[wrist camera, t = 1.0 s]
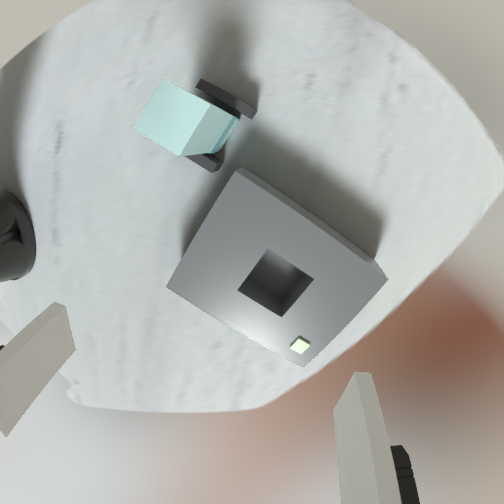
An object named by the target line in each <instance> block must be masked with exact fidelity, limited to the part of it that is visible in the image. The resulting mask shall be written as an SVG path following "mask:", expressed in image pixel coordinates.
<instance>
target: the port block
mask: <svg viewBox="0 0 504 504" xmlns="http://www.w3.org/2000/svg"><path fill="white" fill-rule="evenodd" d="M387 280H388V278H387V277H386V275H385V274H384V272H383V271H382V270H381V268H380V267H379V265H378V264H377V262H376V261H375V260H374V259H373V258H371V257H370V256H369V255H368V254H366V253H365V252H364V251H362V250H361V249H360V248H358V247H357V246H356V245H354V244H353V243H352V242H351V241H349V240H348V239H347V238H345V237H344V236H342V235H341V234H340V233H338V232H337V231H336V230H334V229H333V228H332V227H330V226H329V225H328V224H326V223H325V222H323V221H322V220H321V219H319V218H318V217H316V216H315V215H314V214H312V213H311V212H309V211H308V210H307V209H305V208H304V207H302V206H301V205H299V204H298V203H297V202H295V201H294V200H292V199H291V198H289V197H288V196H286V195H285V194H283V193H282V192H281V191H279V190H278V189H276V188H275V187H273V186H272V185H270V184H269V183H267V182H266V181H264V180H263V179H261V178H260V177H258V176H256V175H255V174H253V173H252V172H250V171H249V170H247V169H246V168H244V167H242V168H240V169H238V170H236V171H235V172H234V173H233V175H232V176H231V178H230V180H229V181H228V183H227V184H226V186H225V187H224V189H223V191H222V192H221V194H220V195H219V197H218V199H217V200H216V202H215V203H214V205H213V207H212V208H211V210H210V212H209V213H208V215H207V217H206V218H205V220H204V222H203V223H202V225H201V226H200V228H199V230H198V232H197V233H196V235H195V237H194V238H193V240H192V242H191V243H190V245H189V247H188V249H187V250H186V252H185V254H184V255H183V257H182V259H181V261H180V262H179V264H178V266H177V268H176V269H175V271H174V273H173V275H172V277H171V278H170V280H169V282H168V284H167V286H166V287H167V288H168V289H170V290H171V291H173V292H175V293H176V294H178V295H179V296H181V297H182V298H184V299H185V300H187V301H189V302H190V303H192V304H193V305H195V306H196V307H198V308H200V309H201V310H203V311H204V312H206V313H208V314H209V315H211V316H213V317H214V318H216V319H218V320H219V321H221V322H223V323H224V324H226V325H228V326H229V327H231V328H233V329H234V330H236V331H238V332H239V333H241V334H243V335H245V336H246V337H248V338H250V339H252V340H253V341H255V342H257V343H259V344H260V345H262V346H264V347H266V348H268V349H269V350H271V351H273V352H275V353H277V354H279V355H280V356H282V357H284V358H286V359H288V360H290V361H292V362H294V363H296V364H297V365H299V366H301V367H305V366H306V365H307V364H308V363H309V362H310V361H311V360H312V359H313V358H314V357H315V356H316V355H317V354H318V353H319V352H321V351H322V350H323V349H324V348H325V347H326V346H327V345H328V344H329V343H330V342H331V341H332V340H333V339H334V338H335V337H336V336H337V335H338V334H339V333H340V332H341V331H342V330H343V329H344V328H345V327H346V326H347V325H348V324H349V322H350V321H351V320H352V319H353V318H354V317H355V316H356V315H357V314H358V313H359V312H360V311H361V310H362V309H363V308H364V306H365V305H366V304H367V303H368V302H369V301H370V300H371V299H372V298H373V296H374V295H375V294H376V293H377V292H378V291H379V290H380V289H381V287H382V286H383V285H384V284H385V283H386V282H387Z"/></svg>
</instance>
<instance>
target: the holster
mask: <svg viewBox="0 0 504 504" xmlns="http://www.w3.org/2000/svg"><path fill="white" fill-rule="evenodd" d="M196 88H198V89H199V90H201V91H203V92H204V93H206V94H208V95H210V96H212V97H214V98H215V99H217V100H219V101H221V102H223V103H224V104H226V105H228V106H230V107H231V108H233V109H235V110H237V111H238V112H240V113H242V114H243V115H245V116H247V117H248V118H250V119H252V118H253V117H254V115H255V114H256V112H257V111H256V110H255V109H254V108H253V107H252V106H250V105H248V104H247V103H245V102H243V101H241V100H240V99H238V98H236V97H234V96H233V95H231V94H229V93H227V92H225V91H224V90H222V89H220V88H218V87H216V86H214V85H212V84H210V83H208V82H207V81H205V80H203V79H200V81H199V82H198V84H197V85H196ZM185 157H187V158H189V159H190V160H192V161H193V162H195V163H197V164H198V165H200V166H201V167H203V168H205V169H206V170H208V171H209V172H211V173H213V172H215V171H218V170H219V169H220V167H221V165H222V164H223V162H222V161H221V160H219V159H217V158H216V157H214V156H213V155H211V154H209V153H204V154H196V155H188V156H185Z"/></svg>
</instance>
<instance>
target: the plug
mask: <svg viewBox="0 0 504 504" xmlns="http://www.w3.org/2000/svg"><path fill="white" fill-rule="evenodd" d="M238 122H239V119H237V118H236V117H235V116H233V115H231V114H230V113H228V112H226V111H224V110H223V109H221V108H219V107H217V106H216V105H214V104H212V103H210V102H208V101H206V100H205V99H203V98H201V97H199V96H196V95H194V94H192V93H190V92H188V91H186V90H184V89H182V88H180V87H178V86H176V85H174V84H172V83H170V82H168V81H166V80H164V79H162V81H161V82H160V84H159V86H158V87H157V89H156V91H155V92H154V94H153V96H152V97H151V99H150V101H149V103H148V104H147V106H146V108H145V110H144V111H143V113H142V115H141V117H140V119H139V121H138V123H137V124H136V126H135V128H134V130H135V131H137V132H139V133H140V134H142V135H144V136H146V137H147V138H149V139H151V140H152V141H154V142H156V143H157V144H159V145H161V146H162V147H164V148H166V149H167V150H169V151H171V152H172V153H174V154H176V155H177V156H179V157H181V156H188V155H196V154H204V153H215V152H219V151H220V150H221V148H222V146H223V145H224V143H225V142H226V140H227V139H228V137H229V136H230V134H231V132H232V131H233V129H234V128H235V126H236V125H237V123H238Z"/></svg>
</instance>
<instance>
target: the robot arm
mask: <svg viewBox="0 0 504 504" xmlns="http://www.w3.org/2000/svg"><path fill="white" fill-rule="evenodd" d="M35 253H36V249H35V238H34V233H33V229H32V225H31V222H30V219H29V217H28V215H27V212H26V210H25V209H24V207H23V205H22V204H21V202H20V201H19V200H18V199H17V198H16V197H15V196H14V195H13V194H11V193H8V192H3V193H0V282H4V281H8V280H17V279H20V278H22V277H23V276H25V275H26V274H28V273H29V272H30V271H31V269H32V268H33V265H34V262H35ZM75 350H76V349H75V345H74V341H73V337H72V333H71V329H70V324H69V320H68V315H67V310H66V306H64V305H62V304H59V303H57V302H54V303H53V304H51V305H50V306H49V307H48V308H47V309H45V310H44V311H43V312H42V313H41V314H40V315H38V316H37V317H36V318H35V319H34V320H33V321H32V322H31V323H29V324H28V325H27V326H26V327H25V328H24V329H23V330H22V331H21V332H19V333H18V334H17V335H16V336H15V337H14V338H13V339H12V340H11V341H10V342H9V343H8V344H7V345H5V346H3V345H2V346H0V433H1V434H2V435H3V436H5V437H7V436H8V435H9V433H10V432H11V430H12V429H13V428H14V426H15V425H16V423H17V422H18V421H19V419H20V418H21V417H22V415H23V414H24V412H25V411H26V410H27V409H28V408H29V406H30V405H31V404H32V402H33V401H34V400H35V398H36V397H37V396H38V395H39V393H40V392H41V391H42V389H43V388H44V387H45V386H46V384H47V383H48V382H49V381H50V380H51V379H52V377H53V376H54V375H55V374H56V372H57V371H58V370H59V369H60V368H61V366H62V365H63V364H64V363H65V362H66V361H67V359H68V358H69V357H70V356H71V355H72V353H73V352H74V351H75ZM333 415H334V424H335V434H336V444H337V455H338V467H339V478H340V479H339V480H340V494H341V504H420V502H419V497H418V492H417V488H416V483H415V479H414V477H413V470H412V469H411V462H410V458H409V455H408V454H407V452H406V451H405V449H404V448H403V446H402V445H398V446H390V444H389V440H388V435H387V431H386V427H385V423H384V419H383V415H382V412H381V408H380V404H379V401H378V397H377V393H376V390H375V386H374V383H373V379H372V376H371V373H363V372H354V374H353V376H352V378H351V380H350V382H349V383H348V385H347V387H346V389H345V391H344V393H343V394H342V396H341V398H340V400H339V402H338V403H337V405H336V407H335V408H334V410H333Z"/></svg>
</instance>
